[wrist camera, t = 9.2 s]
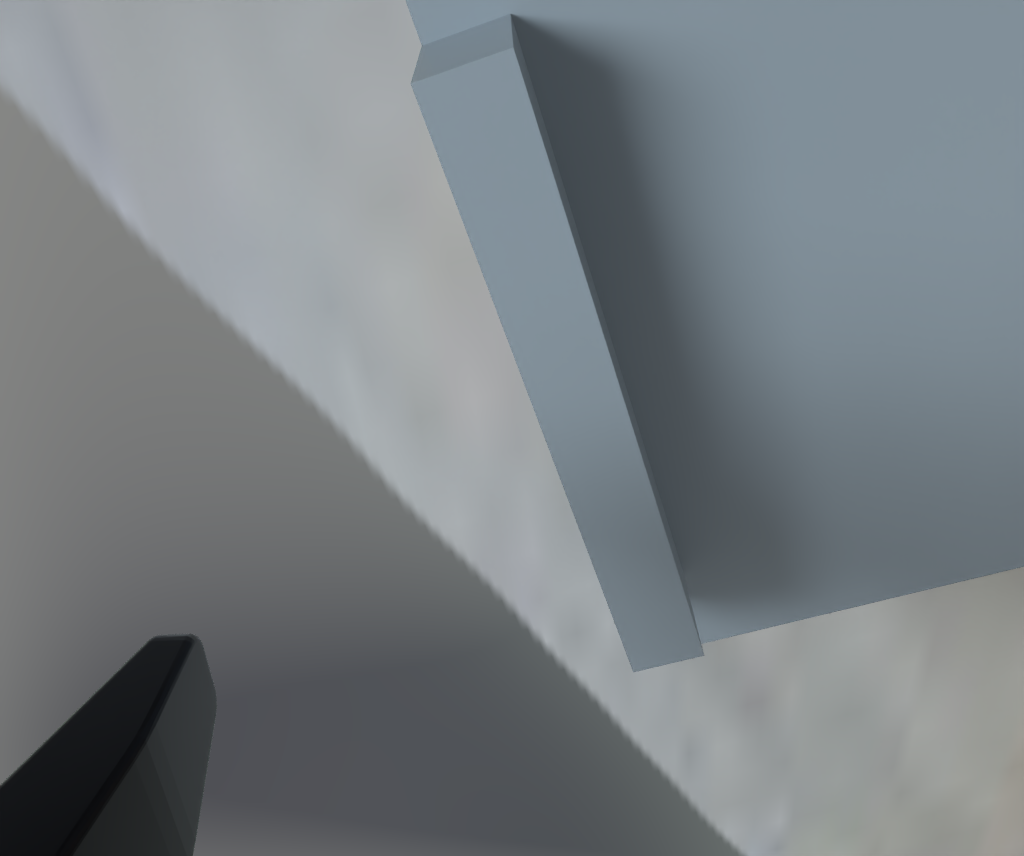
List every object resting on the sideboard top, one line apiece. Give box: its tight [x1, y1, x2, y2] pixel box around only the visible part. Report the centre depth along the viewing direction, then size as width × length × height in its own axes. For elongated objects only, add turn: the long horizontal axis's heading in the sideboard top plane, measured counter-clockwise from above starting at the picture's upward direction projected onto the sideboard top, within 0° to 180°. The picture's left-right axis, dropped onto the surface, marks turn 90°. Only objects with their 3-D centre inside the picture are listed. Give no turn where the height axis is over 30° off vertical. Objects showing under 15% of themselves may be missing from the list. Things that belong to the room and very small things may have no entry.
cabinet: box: [406, 0, 1024, 672], centre depth 16 cm, size 14×8×8 cm, turn 18°
